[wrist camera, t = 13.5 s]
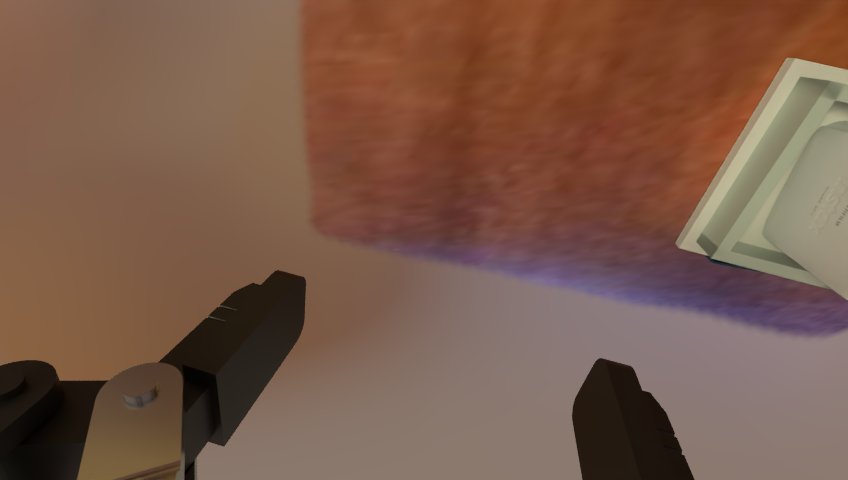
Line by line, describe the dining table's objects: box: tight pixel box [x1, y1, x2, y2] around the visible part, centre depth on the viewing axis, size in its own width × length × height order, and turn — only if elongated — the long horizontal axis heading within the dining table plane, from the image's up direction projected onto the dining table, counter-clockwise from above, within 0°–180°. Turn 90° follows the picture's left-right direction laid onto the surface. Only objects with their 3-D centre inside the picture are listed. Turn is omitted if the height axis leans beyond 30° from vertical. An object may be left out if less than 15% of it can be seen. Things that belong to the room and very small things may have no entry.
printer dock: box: [675, 58, 848, 290], centre depth 30 cm, size 16×12×4 cm
